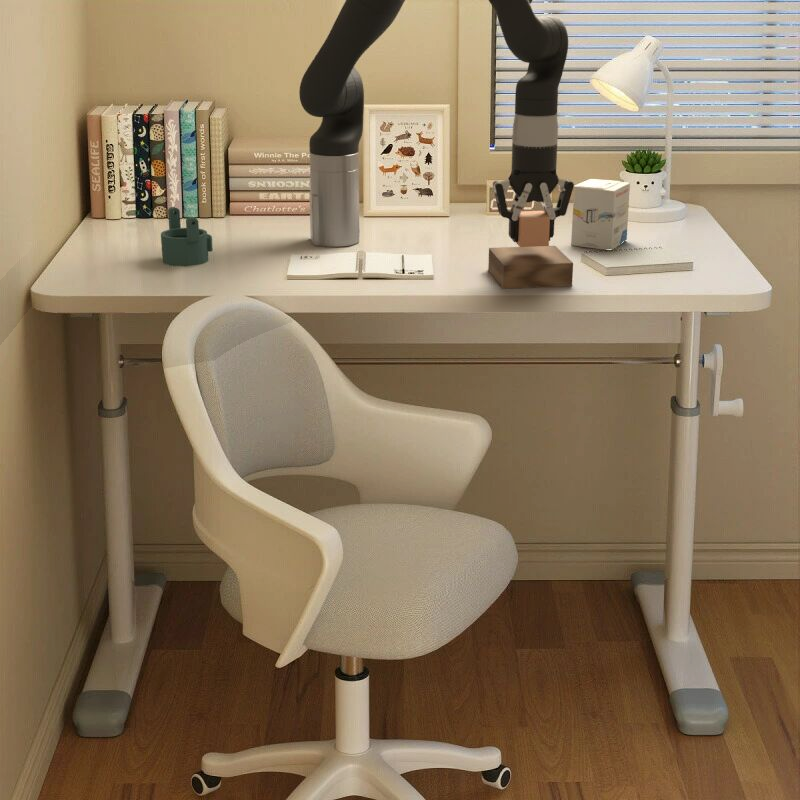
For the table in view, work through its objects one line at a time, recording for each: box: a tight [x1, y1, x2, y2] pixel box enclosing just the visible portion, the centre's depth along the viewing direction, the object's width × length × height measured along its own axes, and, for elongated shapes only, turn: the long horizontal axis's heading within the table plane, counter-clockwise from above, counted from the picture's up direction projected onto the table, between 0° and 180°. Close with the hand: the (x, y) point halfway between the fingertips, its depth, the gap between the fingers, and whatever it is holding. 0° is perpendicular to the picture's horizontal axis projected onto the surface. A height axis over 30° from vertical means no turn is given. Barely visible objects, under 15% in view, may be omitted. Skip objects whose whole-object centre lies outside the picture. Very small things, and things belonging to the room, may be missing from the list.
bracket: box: [160, 206, 213, 267], centre depth 227 cm, size 9×9×9 cm
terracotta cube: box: [515, 210, 550, 247], centre depth 214 cm, size 5×5×5 cm
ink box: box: [570, 178, 631, 250], centre depth 238 cm, size 9×8×12 cm
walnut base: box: [487, 245, 574, 289], centre depth 217 cm, size 12×12×4 cm
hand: (531, 240), depth 215 cm, fingers closed on terracotta cube, 5 cm apart
